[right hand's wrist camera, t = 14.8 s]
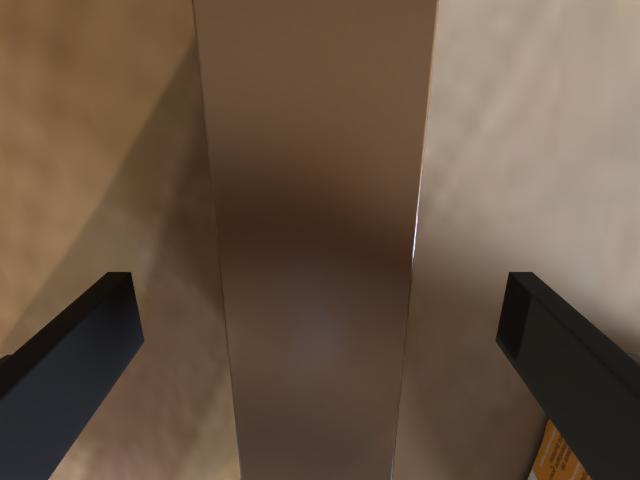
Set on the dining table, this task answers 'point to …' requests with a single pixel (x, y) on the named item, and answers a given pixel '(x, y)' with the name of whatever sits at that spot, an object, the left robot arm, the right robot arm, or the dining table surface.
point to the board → (316, 220)
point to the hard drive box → (556, 459)
